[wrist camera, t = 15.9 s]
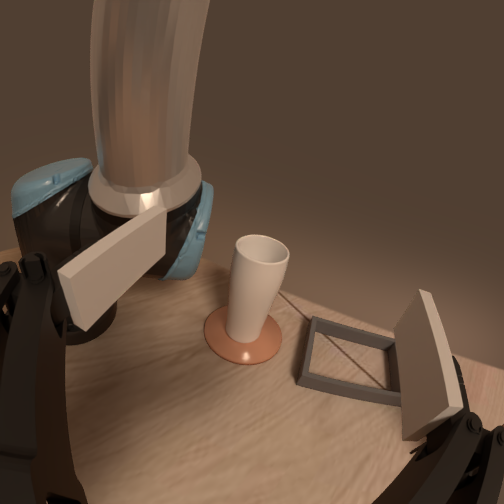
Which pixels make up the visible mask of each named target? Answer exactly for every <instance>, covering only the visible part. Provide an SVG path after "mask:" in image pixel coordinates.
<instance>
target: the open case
mask: <svg viewBox="0 0 504 504" xmlns="http://www.w3.org/2000/svg"><path fill="white" fill-rule="evenodd" d="M315 332H319V333H322V334H326V335H329V336H333V337H336V338H340V339H343V340H347V341H351V342H354V343H358V344H362V345H366V346H370V347H373V348H377V349H381V350H385V351H388V355H389V366H390V377H391V391H387V390H382V389H376V388H371V387H366V386H362V385H357V384H353V383H348V382H344V381H340V380H335V379H331V378H327V377H324V376H320V375H316V374H312V373H309V372H308V371H309V366H310V360H311V354H312V348H313V342H314V336H315ZM296 385H299V386H302V387H306V388H310V389H314V390H318V391H322V392H326V393H330V394H334V395H339V396H343V397H348V398H353V399H358V400H363V401H368V402H374V403H380V404H386V405H392V406H399V407H402V406H401V389H400V377H399V367H398V358H397V350H396V342H395V339H393V338H389V337H386V336H382V335H378V334H374V333H371V332H367V331H363V330H360V329H356V328H353V327H349V326H346V325H342V324H339V323H335V322H332V321H329V320H325V319H322V318H319V317H315V316H312V318H311V321H310V323H309V325H308V329H307V334H306V340H305V345H304V350H303V355H302V360H301V364H300V369H299V374H298V378H297V383H296Z"/></svg>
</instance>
